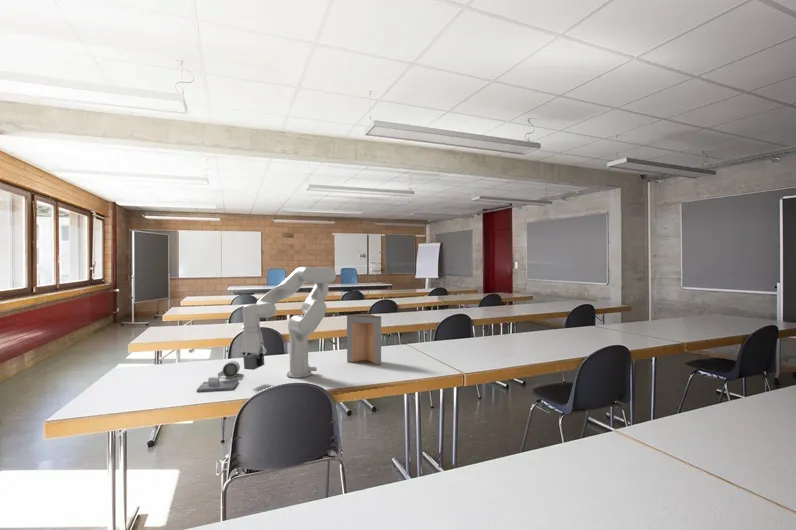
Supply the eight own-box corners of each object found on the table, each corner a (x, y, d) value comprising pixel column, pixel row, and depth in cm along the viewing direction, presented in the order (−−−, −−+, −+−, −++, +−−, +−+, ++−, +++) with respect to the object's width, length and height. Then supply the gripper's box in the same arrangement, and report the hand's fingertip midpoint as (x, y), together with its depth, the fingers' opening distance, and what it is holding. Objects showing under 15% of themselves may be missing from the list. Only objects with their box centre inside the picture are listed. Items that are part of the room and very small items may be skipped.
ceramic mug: (240, 372, 221) (240, 358, 221) (238, 377, 213) (237, 362, 213) (219, 374, 219) (218, 360, 218) (216, 378, 211) (215, 364, 210)
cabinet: (347, 362, 243) (346, 315, 243) (353, 358, 252) (353, 313, 252) (380, 365, 237) (380, 316, 237) (385, 361, 246) (385, 314, 246)
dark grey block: (255, 364, 207) (254, 352, 207) (264, 364, 205) (263, 352, 205) (244, 369, 199) (243, 356, 199) (253, 369, 197) (252, 357, 197)
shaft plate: (238, 382, 204) (238, 372, 204) (233, 389, 192) (233, 379, 192) (204, 384, 201) (204, 374, 201) (196, 391, 189) (196, 381, 189)
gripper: (232, 330, 201) (235, 366, 202) (261, 331, 195) (264, 368, 196) (243, 327, 208) (245, 362, 209) (271, 328, 202) (273, 364, 203)
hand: (254, 365), depth 202 cm, fingers closed on dark grey block, 5 cm apart
